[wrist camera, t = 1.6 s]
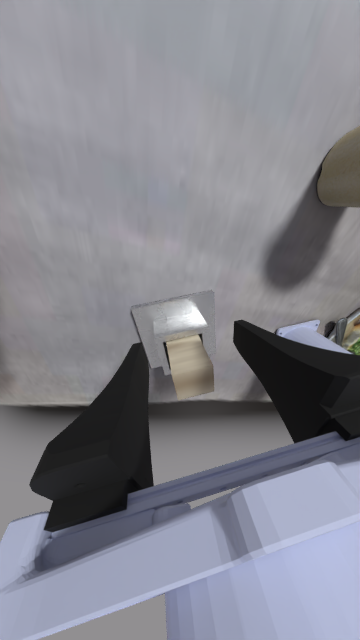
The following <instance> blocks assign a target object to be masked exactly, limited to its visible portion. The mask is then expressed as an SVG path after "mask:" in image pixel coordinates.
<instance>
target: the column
mask: <svg viewBox="0 0 360 640" xmlns="http://www.w3.org/2000/svg"><path fill="white" fill-rule="evenodd" d="M166 343H167V349H168V355H169V361H170V367H171V373H172V378H173V382H174V386H175V390H176V394H177V398H178V400H182V399H186V398H190V397H194V396H198V395H201V394H205V393H209V392H213V391H214V373H213V364H212V362H211V360H210V358H209V356H208V354H207V352H206V350H205V348H204V345H203V343H202V341H201V339H200V337H199V335H198V334H197V335H192V336H188V337H183V338H179V339H175V340H170V341H166Z"/></svg>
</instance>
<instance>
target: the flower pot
mask: <svg viewBox="0 0 360 640" xmlns="http://www.w3.org/2000/svg"><path fill="white" fill-rule="evenodd" d="M317 192H318V196H319V198H320V200H321V202H322V203H323V204H325V205H327V206H334V207H335V206H340V207H360V126H359V127H357V128H355V129H354V130H352V131H350V132H349V133H347V134H346V135H344V136H343V137H342V138H341V139H340V140H339V141H338V142H337V143H336V144H335V145H334V146H333V148H332V149H331V150H330V152H329V153H328V155H327V156H326V158H325V160H324V162H323V164H322V172H321V175H320V178H319V180H318V182H317Z"/></svg>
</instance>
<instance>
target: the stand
mask: <svg viewBox="0 0 360 640" xmlns="http://www.w3.org/2000/svg"><path fill="white" fill-rule="evenodd" d="M131 311H132V314H133V316H134V319H135V322H136V325H137V328H138V331H139V334H140V337H141V340H142V343H143V346H144V348H145V351H146V354H147V357H148V360H149V363H150V366H151V369H152V368H156V367H161V366H162V367H163V370H164V374H165V375H169V374H172V373H171V367H170V361H169V355H168V349H167V343H166V341H170V340H175V339H179V338H183V337H188V336H192V335H197V334H198V335H199V337H200V339H201V341H202V343H203V345H204V348H205V350H206V352H207V354H208V356H209V358H210V355H211V354H215V353H216V339H215V304H214V292H213V291H212V290H208V291H203V292H198V293H193V294H188V295H184V296H179V297H174V298H169V299H164V300H159V301H154V302H149V303H145V304H140V305H135V306H132V307H131Z"/></svg>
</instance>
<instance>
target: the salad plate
mask: <svg viewBox="0 0 360 640" xmlns="http://www.w3.org/2000/svg"><path fill="white" fill-rule="evenodd" d="M359 319H360V308H358V309H357V310H356V311H354V312H353V313H352V314H351V315H349V316H348V317H347V318H342V319H340V320H338V321H337V323H336V325H335V328H334V329H333V330H332V332H331V333H330V335H329V336H328V338H327V339H329V340H331V341H332V342H334V343H336V344H337V345H339V346H340V347H342V348H344V349H345V350H347V351H349V352H350V353H352V354H354V355H360V322H359Z"/></svg>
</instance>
